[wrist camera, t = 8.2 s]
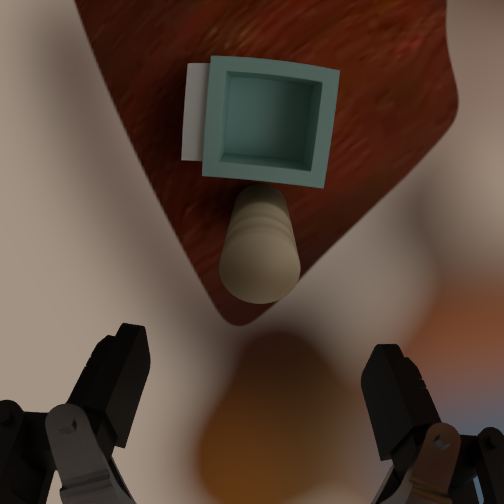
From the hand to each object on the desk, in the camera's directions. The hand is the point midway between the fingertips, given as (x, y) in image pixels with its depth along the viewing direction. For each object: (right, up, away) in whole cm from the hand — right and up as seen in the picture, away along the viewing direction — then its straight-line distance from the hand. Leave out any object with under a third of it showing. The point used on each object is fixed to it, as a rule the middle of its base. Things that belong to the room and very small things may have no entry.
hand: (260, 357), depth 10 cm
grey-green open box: (+1, +13, +10) cm, 16 cm away
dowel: (0, +7, +13) cm, 15 cm away
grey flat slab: (-3, +13, +10) cm, 17 cm away
